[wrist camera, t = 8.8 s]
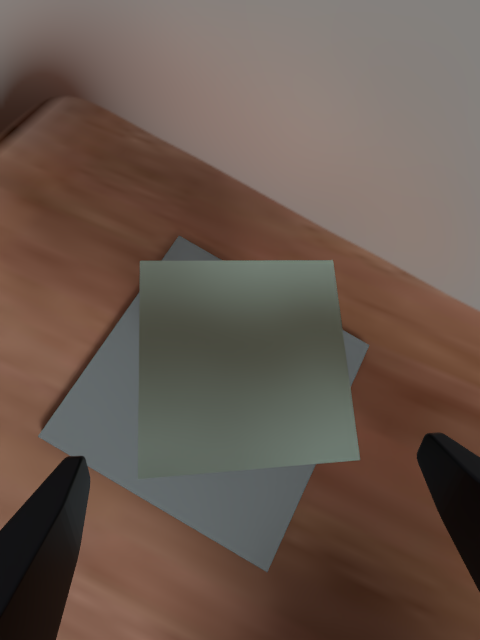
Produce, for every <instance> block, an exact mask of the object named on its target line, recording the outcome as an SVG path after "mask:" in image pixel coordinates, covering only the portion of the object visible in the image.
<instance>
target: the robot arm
mask: <svg viewBox="0 0 480 640" xmlns="http://www.w3.org/2000/svg"><path fill="white" fill-rule="evenodd" d="M417 461H418V464H419V466H420V469H421V471H422V473H423V476H424V478H425V481H426V483H427V486H428V488H429V490H430V493H431V495H432V498H433V500H434V503H435V505H436V508H437V510H438V512H439V514H440V517H441V519H442V521H443V523H444V525H445V527H446V529H447V531H448V532H449V534H450V536H451V538H452V540H453V542H454V544H455V546H456V548H457V550H458V552H459V554H460V555H461V557H462V559H463V561H464V563H465V565H466V567H467V569H468V571H469V573H470V575H471V577H472V578H473V580H474V582H475V584H476V586H477V588H478V590H479V592H480V457H478V456H477V455H475V454H474V453H472V452H471V451H469V450H468V449H466V448H465V447H463V446H462V445H460V444H459V443H457V442H455V441H454V440H452V439H451V438H449V437H448V436H446V435H445V434H443V433H427V434H426V435H425V436H424V438H423V440H422V443H421V445H420V447H419V450H418V452H417ZM89 489H90V475H89V471H88V467H87V462H86V459H85V457H84V456H69V457H66V458H65V459H64V460H63V461H62V462H61V463H60V464H59V465H58V466H57V467H56V469H55V470H54V471H53V472H52V473H51V474H50V475H49V476H48V478H47V479H46V480H45V481H44V482H43V483H42V484H41V485H40V486H39V488H38V489H37V490H36V491H35V492H34V493H33V494H32V495H31V497H30V498H29V499H28V500H27V501H26V502H25V503H24V504H23V506H22V507H21V508H20V509H19V510H18V511H17V512H16V513H15V515H14V516H13V517H12V518H11V519H10V520H9V521H8V522H7V524H6V525H5V526H4V527H3V528H2V529H1V530H0V640H56V637H57V633H58V630H59V626H60V622H61V619H62V615H63V611H64V608H65V604H66V600H67V597H68V593H69V589H70V585H71V582H72V578H73V574H74V571H75V567H76V563H77V559H78V555H79V550H80V545H81V539H82V533H83V526H84V520H85V514H86V508H87V501H88V495H89Z"/></svg>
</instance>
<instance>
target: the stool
mask: <svg viewBox="0 0 480 640" xmlns="http://www.w3.org/2000/svg"><path fill="white" fill-rule="evenodd" d="M355 460H360V455H359V447H358V440H357V433H356V425H355V418H354V411H353V403H352V396H351V389H350V381H349V374H348V367H347V359H346V352H345V345H344V337H343V330H342V323H341V315H340V308H339V301H338V293H337V286H336V279H335V271H334V264H333V260H265V261H140V300H139V403H138V479H146V478H158V477H169V476H181V475H193V474H204V473H216V472H227V471H239V470H251V469H262V468H274V467H285V466H297V465H309V464H320V463H332V462H343V461H355Z"/></svg>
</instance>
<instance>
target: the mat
mask: <svg viewBox="0 0 480 640" xmlns="http://www.w3.org/2000/svg"><path fill="white" fill-rule="evenodd" d="M161 261H222V260H221V259H219V258H217V257H215V256H214V255H212V254H210V253H208V252H207V251H205V250H203V249H201V248H200V247H198V246H196V245H195V244H193V243H191V242H189V241H188V240H186V239H184V238H182V237H181V236H178V238H177V239H176V241H175V242H174V243H173V245H172V246H171V248H170V249H169V251H168V252H167V253H166V255H165V256H164V258H163V259H162V260H161ZM139 300H140V292H139V293H138V295H137V296H136V298H135V299H134V300H133V302H132V303H131V305H130V306H129V307H128V309H127V310H126V312H125V313H124V315H123V316H122V317H121V319H120V320H119V322H118V323H117V325H116V326H115V327H114V329H113V330H112V332H111V333H110V335H109V336H108V337H107V339H106V340H105V342H104V343H103V344H102V346H101V347H100V349H99V350H98V352H97V353H96V354H95V356H94V357H93V359H92V360H91V362H90V363H89V364H88V366H87V367H86V369H85V370H84V372H83V373H82V374H81V376H80V377H79V379H78V380H77V381H76V383H75V384H74V386H73V387H72V389H71V390H70V391H69V393H68V394H67V396H66V397H65V399H64V400H63V401H62V403H61V404H60V406H59V407H58V409H57V410H56V411H55V413H54V414H53V416H52V417H51V418H50V420H49V421H48V423H47V424H46V426H45V427H44V428H43V430H42V431H41V433H40V434H39V436H38V437H40V438H41V439H43V440H45V441H46V442H48V443H50V444H51V445H53V446H55V447H56V448H58V449H60V450H62V451H63V452H65V453H67V454H68V455H70V456H84V457H85V459H86V462H87V466H89V467H90V468H92V469H94V470H95V471H97V472H99V473H100V474H102V475H104V476H105V477H107V478H109V479H111V480H112V481H114V482H116V483H117V484H119V485H121V486H122V487H124V488H126V489H127V490H129V491H131V492H132V493H134V494H136V495H138V496H139V497H141V498H143V499H144V500H146V501H148V502H149V503H151V504H153V505H154V506H156V507H158V508H160V509H161V510H163V511H165V512H166V513H168V514H170V515H171V516H173V517H175V518H176V519H178V520H180V521H181V522H183V523H185V524H187V525H188V526H190V527H192V528H193V529H195V530H197V531H198V532H200V533H202V534H203V535H205V536H207V537H209V538H210V539H212V540H214V541H215V542H217V543H219V544H220V545H222V546H224V547H225V548H227V549H229V550H230V551H232V552H234V553H236V554H237V555H239V556H241V557H242V558H244V559H246V560H247V561H249V562H251V563H252V564H254V565H256V566H258V567H259V568H261V569H263V570H264V571H266V572H268V569H269V567H270V565H271V563H272V561H273V558H274V556H275V554H276V552H277V549H278V547H279V545H280V543H281V541H282V538H283V536H284V534H285V532H286V529H287V527H288V525H289V523H290V521H291V518H292V516H293V514H294V512H295V509H296V507H297V505H298V503H299V500H300V498H301V496H302V494H303V492H304V489H305V487H306V485H307V483H308V480H309V478H310V476H311V474H312V472H313V469H314V467H315V465H316V464H309V465H297V466H285V467H274V468H262V469H251V470H239V471H227V472H216V473H204V474H193V475H181V476H169V477H158V478H146V479H138V403H139ZM343 337H344V345H345V352H346V359H347V367H348V374H349V381H350V387H351V385H352V383H353V380H354V378H355V376H356V374H357V372H358V369H359V367H360V365H361V363H362V360H363V358H364V356H365V354H366V351H367V349H368V347H369V345H368V344H366V343H364V342H363V341H361V340H359V339H358V338H356V337H354V336H352V335H351V334H349V333H347V332H345V331H344V330H343Z"/></svg>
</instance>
